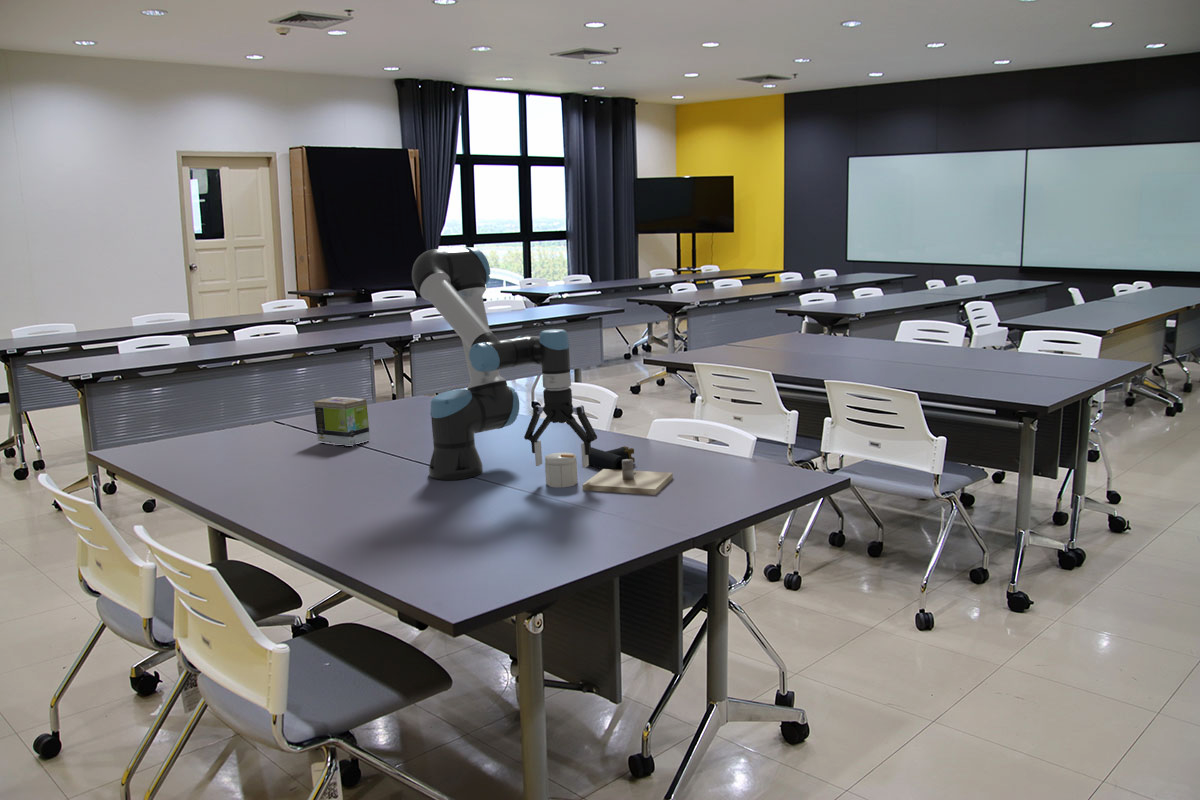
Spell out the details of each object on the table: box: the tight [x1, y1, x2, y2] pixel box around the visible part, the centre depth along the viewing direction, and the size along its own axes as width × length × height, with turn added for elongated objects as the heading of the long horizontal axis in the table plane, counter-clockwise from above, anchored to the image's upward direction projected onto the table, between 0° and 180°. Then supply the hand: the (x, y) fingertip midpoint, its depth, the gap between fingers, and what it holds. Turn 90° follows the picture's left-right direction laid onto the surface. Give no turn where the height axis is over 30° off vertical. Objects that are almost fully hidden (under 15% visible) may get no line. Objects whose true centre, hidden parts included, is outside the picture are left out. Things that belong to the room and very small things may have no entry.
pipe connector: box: [588, 445, 635, 470], centre depth 274 cm, size 12×5×15 cm
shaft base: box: [582, 459, 674, 496], centre depth 254 cm, size 20×16×6 cm
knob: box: [544, 451, 579, 488], centre depth 258 cm, size 8×8×8 cm
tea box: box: [313, 396, 371, 445], centre depth 316 cm, size 15×10×15 cm
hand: (562, 465), depth 257 cm, fingers open, 13 cm apart
